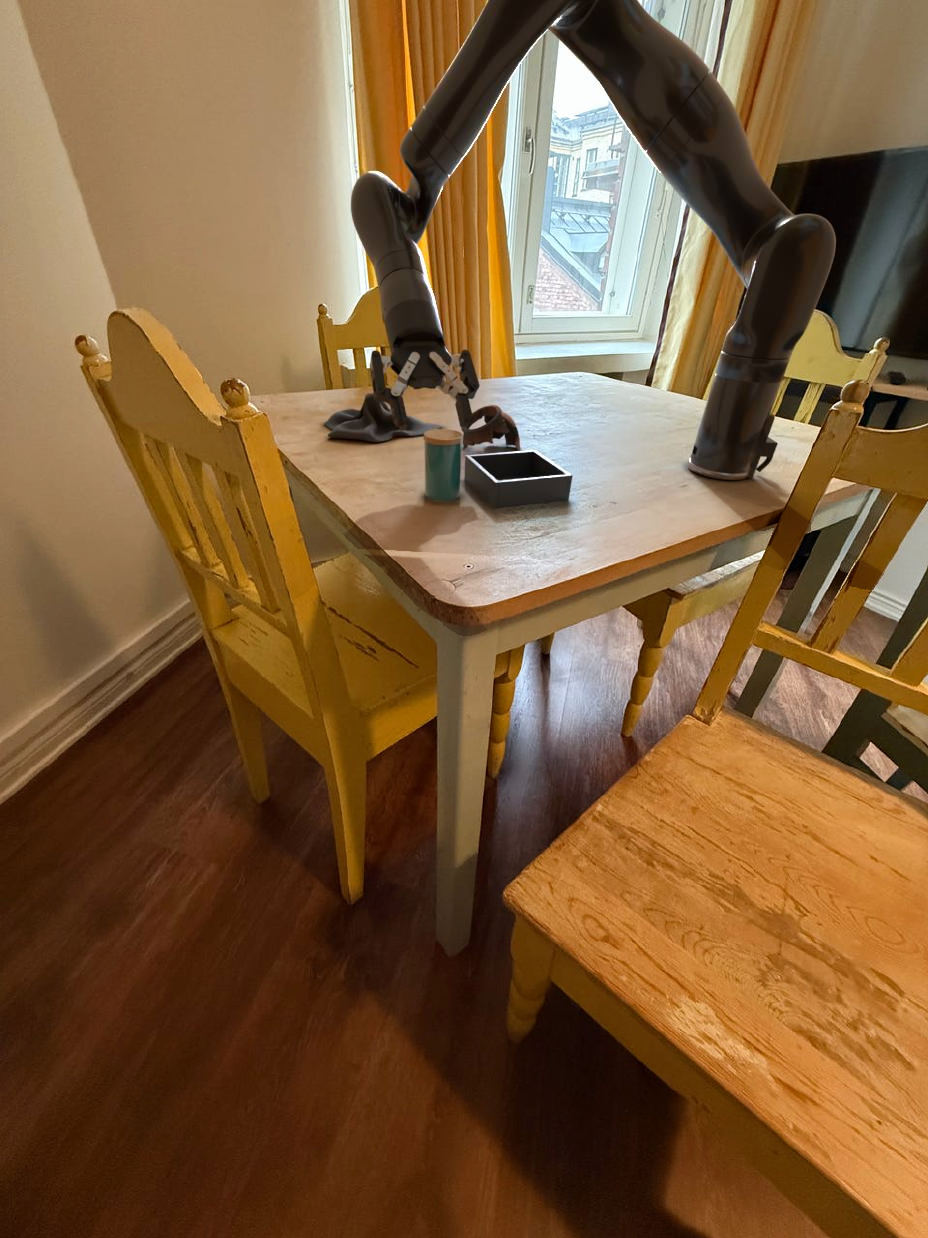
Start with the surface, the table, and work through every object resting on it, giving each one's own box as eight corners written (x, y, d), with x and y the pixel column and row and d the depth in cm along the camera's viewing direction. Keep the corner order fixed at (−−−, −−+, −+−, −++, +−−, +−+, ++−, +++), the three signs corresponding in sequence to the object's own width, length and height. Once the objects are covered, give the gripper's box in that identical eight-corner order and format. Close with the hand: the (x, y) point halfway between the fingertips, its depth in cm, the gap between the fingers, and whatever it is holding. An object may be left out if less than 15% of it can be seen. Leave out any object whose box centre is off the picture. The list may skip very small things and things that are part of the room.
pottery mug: (525, 463, 86) (506, 420, 81) (473, 481, 90) (452, 442, 84) (525, 425, 94) (507, 384, 88) (478, 444, 97) (458, 405, 92)
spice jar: (461, 491, 74) (463, 429, 69) (459, 505, 69) (461, 440, 65) (425, 489, 74) (425, 427, 69) (422, 503, 70) (421, 438, 65)
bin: (532, 475, 80) (535, 449, 78) (568, 503, 71) (572, 475, 69) (464, 482, 76) (465, 455, 74) (493, 512, 68) (495, 482, 66)
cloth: (334, 447, 88) (330, 408, 84) (312, 419, 101) (307, 385, 98) (454, 435, 96) (455, 400, 92) (418, 411, 110) (418, 380, 106)
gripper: (361, 295, 66) (386, 412, 63) (466, 297, 70) (493, 407, 68) (357, 337, 73) (379, 443, 71) (452, 336, 77) (476, 437, 75)
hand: (435, 425), depth 69 cm, fingers open, 8 cm apart
